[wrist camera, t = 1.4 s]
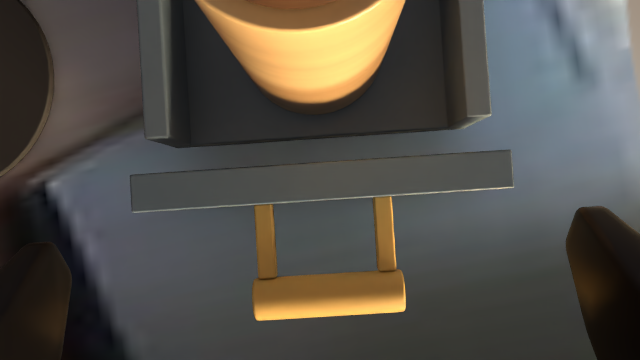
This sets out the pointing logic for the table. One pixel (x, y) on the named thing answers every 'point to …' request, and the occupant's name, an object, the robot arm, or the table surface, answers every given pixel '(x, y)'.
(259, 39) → the pepper mill
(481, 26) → the drawer
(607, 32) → the table surface
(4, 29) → the coaster
